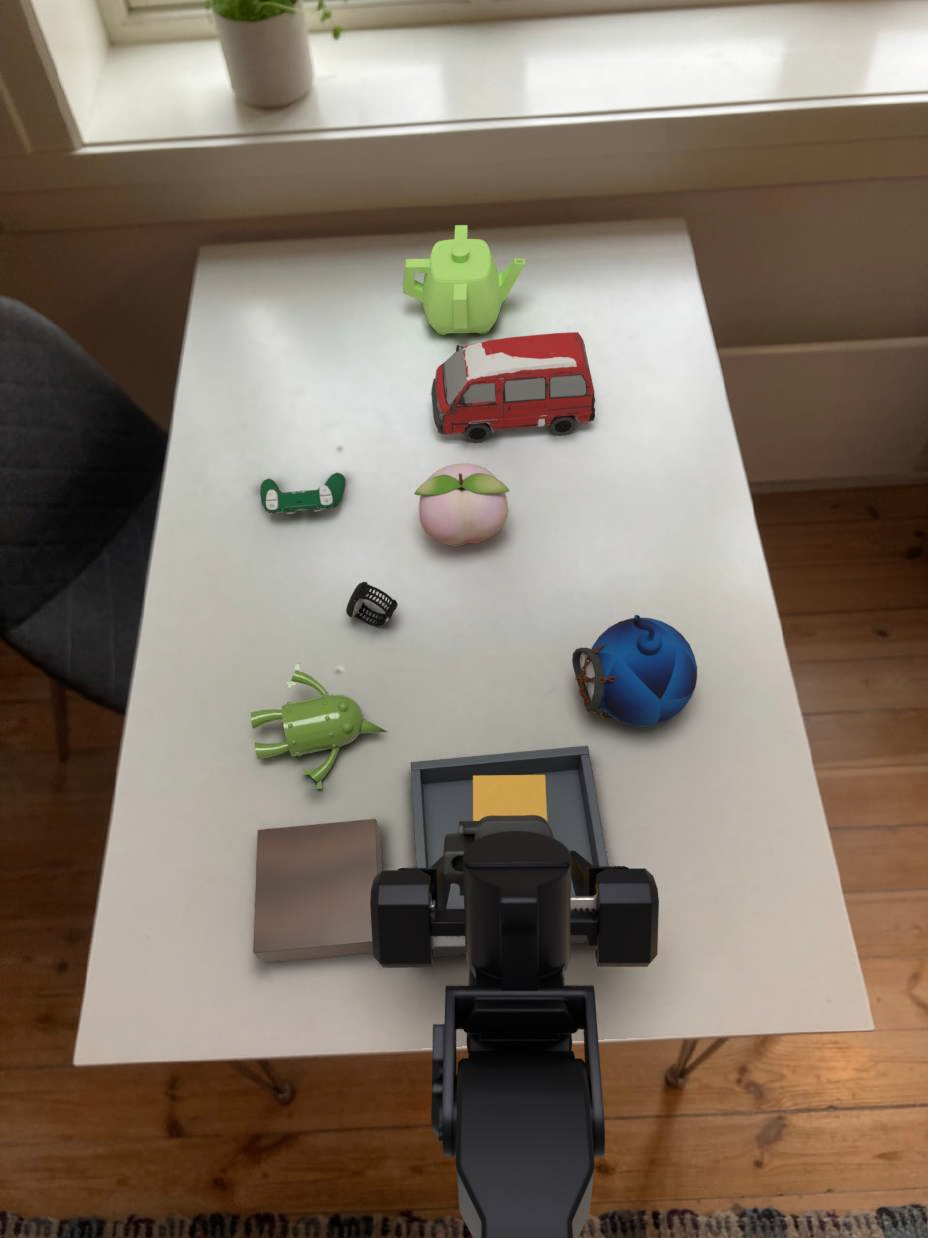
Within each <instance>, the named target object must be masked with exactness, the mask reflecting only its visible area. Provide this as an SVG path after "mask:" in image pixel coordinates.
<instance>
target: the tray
mask: <svg viewBox="0 0 928 1238" xmlns="http://www.w3.org/2000/svg"><path fill="white" fill-rule="evenodd" d="M480 775H545V781H546V802H547V822H548V824H549V826H550V828H551V830H552V833H553V838H554V839H556V840H558V841H560V842H561V843H563V844H564V845H565V846H566V847H567V848H568V850H569V852H570V851H576V852H577V853H579V854H580V855H581V856H582V857H583V858H585V859H586V860H587V861H588V862H590V863H591V864H592V865H593V866H609V862H608V855H607V850H606V844H605V838H604V837H605V836H604V831H603V825H602V820H601V814H600V809H599V801H598V797H597V791H596V783H595V778H594V771H593V767H592V761H591V755H590V748H589V745H579V746H569V747H557V748H548V749H538V750H536V749H535V750H526V751H514V752H504V753H503V752H502V753H495V754H494V753H493V754H483V755H473V756H461V757H451V758H440V759H429V760H418V761H410V779H411V781H410V782H411V797H412V812H413V815H412V816H413V831H414V832H413V833H414V848H415V868H430V867H431V866H432V865H433V864H434V863H435V862H437V861H438V860H439V859H440V858H441V857H442V856H443V852H444V839H445V836H446V835H447V834H456V833H458V832H459V821H473V776H480ZM571 896H576V895H575V891H574V887H573V883H572V879H571ZM446 909H464V896H460V887H459V885H457V884H451V887H450V892H449V897H448V903H447V908H446ZM582 943H588V941H587V937H586V935H570V945H572V944H582ZM432 950H433V957H434V958H438V957H447V956H458V955H459V956H460V955H466V952H465V946H458V947H434V948H433V949H432Z"/></svg>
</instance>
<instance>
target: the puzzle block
mask: <svg viewBox="0 0 928 1238" xmlns="http://www.w3.org/2000/svg"><path fill="white" fill-rule="evenodd" d="M490 815H498V816H519V815H538V816H541V817H543V818H544V819H545V820H546V821H547V802H546V781H545V775H480V776H473V821H480V820H481V819H482V818H483V817H486V816H490Z"/></svg>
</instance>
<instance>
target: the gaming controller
mask: <svg viewBox="0 0 928 1238" xmlns="http://www.w3.org/2000/svg"><path fill="white" fill-rule="evenodd" d="M345 487H346V477H345V475H343V474H342V473H340V472H335V473H333V474H331V475H330V476H329V478H327V480H326V481H325V483H323V484H322V485H320V486H319V487H318V489H309V490H299V491H298V490H297V491H288V492H287V491H286V492H283V491H282V490H280V488H279V486H278V484H277V483H276V482H275V481H274V480H273V479H272V478H266V479H264V480H263V481H262V483H261V484H260V489H259V490H260V491H259V492H260V493H259V495H260V496H259V497H260V502H261V505H262V507H263V509H264V511H266V512H267V514H278V513H279V514H281V513H286V515H293V514H294V515H295V514H296V512H297V511H309V510H312V512H314V513H316V512H317V513H318V512H322V511H323V510H324V509H326V510H327V509H331V508H336V507H338V505H339V504H340V503H341V501H342V499H343V495H344V492H345Z"/></svg>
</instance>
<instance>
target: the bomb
mask: <svg viewBox="0 0 928 1238" xmlns="http://www.w3.org/2000/svg"><path fill="white" fill-rule="evenodd" d="M571 663H572V668H573V672H574V675H575V678H574V680H576V682H577V685H578V689H579V690H578V692H579V695H580V696H581V698H582V701H583V703H584V706H585V707H584V708H585V710H586V712H587V713H591V712H594V713H595V715H597V716H598V717H600V718H602V719H604V720H608V719H609V720H613V719H614V720H616V721H617V722H619V723H622V724H624V725H625V724H626V725H628V726H632V727H642V728H643V727H652V726H657V725H659V724H663V723H665V722H668V721H669V720H671V719H673V718H674V717H676V716H677V715H679V713H681V711H683V710H684V709H685V707H686V706H687V704H688V703H689V702H690V700H691V699H692V697H693V694H694V692H695V689H696V687H697V682H698V664H697V660H696V656H695V654H694V651H693V649H692V647H691V644H690V643H689V641H687V639H686V638H685V636H684V635H683V634H682V633H681V632H679V631H678V630H677V629H676V628H675V627H673V626H672V625H670V624H668V623H666V622H664V621H662V620H659V619H655V618H651V617H641V615H639V614H634V616H633V617H631V618H627V619H622V620H619V621H618V622H616V623H614V624H613V625H611V626H609V627H608V628H606V629H605V631H603V632H602V633H601V634H600V635H599V636H598V637H597V639H596V640H595V641H594V643H593V644H592V646H591V648H589V647H578V648H575V650H574V651H573V653H572V657H571ZM599 708H600V710H602V711H603V712H601V711H599Z"/></svg>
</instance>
